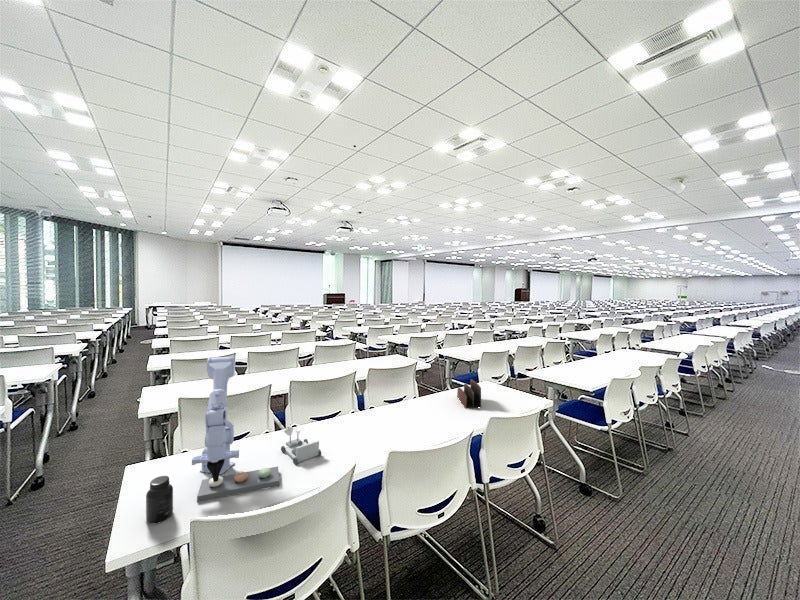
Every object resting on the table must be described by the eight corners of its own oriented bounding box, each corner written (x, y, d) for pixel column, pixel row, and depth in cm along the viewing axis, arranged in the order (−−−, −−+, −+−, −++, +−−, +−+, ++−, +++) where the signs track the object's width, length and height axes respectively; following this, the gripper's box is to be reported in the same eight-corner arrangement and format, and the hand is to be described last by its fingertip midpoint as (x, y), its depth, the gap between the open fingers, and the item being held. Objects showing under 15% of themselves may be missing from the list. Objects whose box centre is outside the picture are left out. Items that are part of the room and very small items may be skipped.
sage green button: (258, 484, 120) (258, 475, 120) (258, 477, 124) (258, 469, 124) (270, 481, 122) (271, 473, 122) (270, 475, 126) (270, 467, 126)
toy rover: (278, 428, 147) (303, 421, 155) (278, 449, 147) (302, 442, 155) (296, 443, 134) (321, 435, 141) (295, 466, 134) (321, 457, 142)
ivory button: (208, 493, 114) (208, 484, 114) (209, 486, 118) (209, 477, 118) (222, 490, 116) (222, 482, 116) (223, 483, 120) (223, 475, 120)
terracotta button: (233, 488, 117) (233, 480, 117) (234, 481, 121) (234, 473, 121) (247, 486, 119) (247, 477, 119) (247, 479, 123) (247, 471, 123)
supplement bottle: (140, 521, 101) (140, 483, 101) (163, 507, 107) (163, 471, 107) (155, 527, 99) (155, 488, 98) (178, 513, 105) (178, 476, 104)
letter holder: (471, 398, 223) (471, 377, 223) (481, 409, 203) (482, 386, 203) (456, 398, 222) (457, 377, 222) (465, 409, 202) (466, 386, 202)
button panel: (197, 502, 110) (197, 496, 110) (202, 485, 120) (202, 479, 119) (279, 485, 120) (279, 480, 120) (278, 471, 130) (278, 466, 130)
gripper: (190, 451, 110) (189, 491, 110) (238, 444, 115) (237, 482, 116) (194, 442, 116) (193, 479, 117) (239, 435, 122) (239, 471, 122)
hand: (216, 480), depth 117 cm, fingers closed, pressing on ivory button
